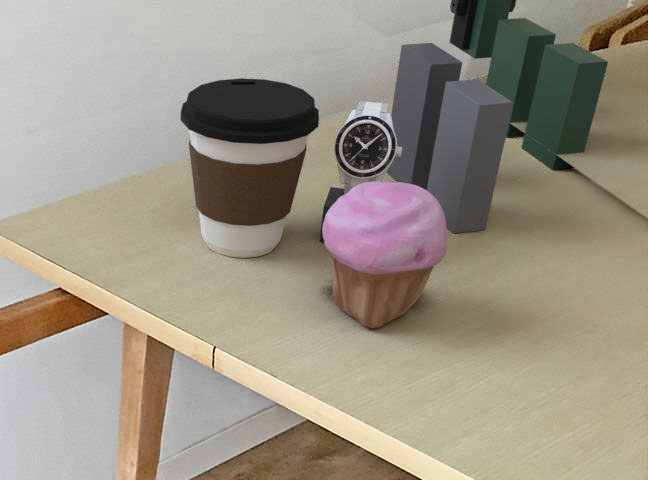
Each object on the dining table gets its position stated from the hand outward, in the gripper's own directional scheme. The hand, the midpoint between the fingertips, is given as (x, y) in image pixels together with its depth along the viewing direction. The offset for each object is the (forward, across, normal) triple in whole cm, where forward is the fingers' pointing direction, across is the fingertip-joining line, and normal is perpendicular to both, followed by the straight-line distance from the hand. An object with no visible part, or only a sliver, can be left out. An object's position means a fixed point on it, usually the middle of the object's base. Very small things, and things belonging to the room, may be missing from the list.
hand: (475, 44), depth 117 cm
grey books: (+6, +16, +25) cm, 30 cm away
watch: (+6, +26, +31) cm, 41 cm away
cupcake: (+6, +30, +44) cm, 53 cm away
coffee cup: (+6, +36, +30) cm, 47 cm away
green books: (+6, 0, +14) cm, 15 cm away
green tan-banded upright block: (+1, 0, 0) cm, 1 cm away
